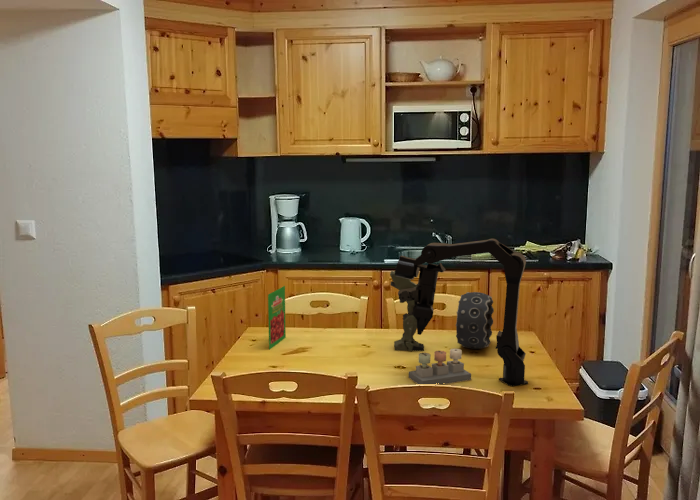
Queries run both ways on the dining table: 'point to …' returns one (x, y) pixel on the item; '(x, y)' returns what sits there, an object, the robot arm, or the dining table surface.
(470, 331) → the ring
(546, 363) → the dining table surface
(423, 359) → the sage key
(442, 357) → the terracotta key
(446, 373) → the grey button panel
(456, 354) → the cream key
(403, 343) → the mechanical leg
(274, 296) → the tomato puree packet
